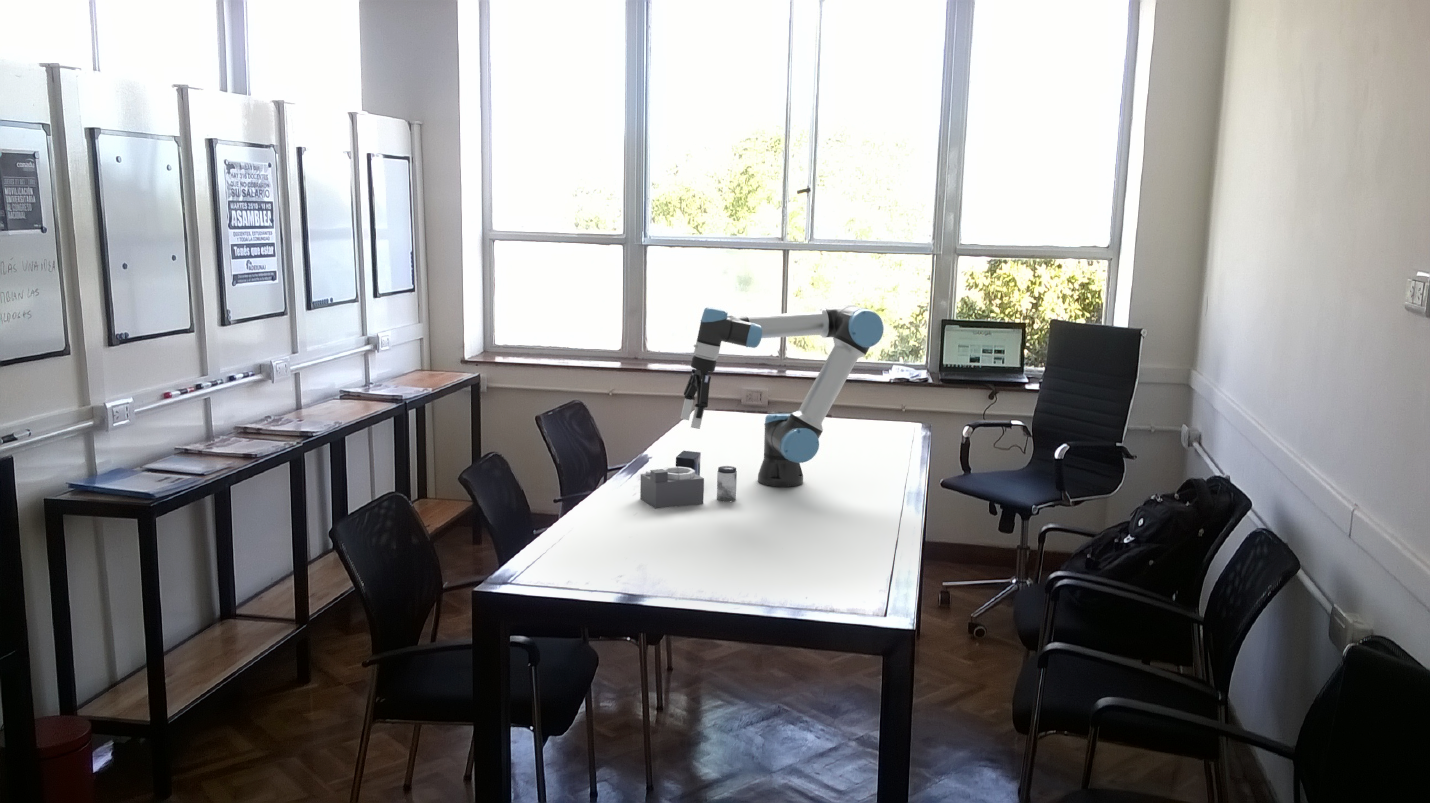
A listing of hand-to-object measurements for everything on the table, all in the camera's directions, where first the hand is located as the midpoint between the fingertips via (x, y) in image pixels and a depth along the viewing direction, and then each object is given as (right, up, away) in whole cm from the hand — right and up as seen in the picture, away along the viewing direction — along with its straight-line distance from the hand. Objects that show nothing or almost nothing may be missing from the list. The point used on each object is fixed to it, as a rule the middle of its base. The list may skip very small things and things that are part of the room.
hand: (689, 423), depth 342 cm
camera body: (-6, -24, -2) cm, 25 cm away
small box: (-1, -21, +18) cm, 28 cm away
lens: (+11, -24, +2) cm, 26 cm away
